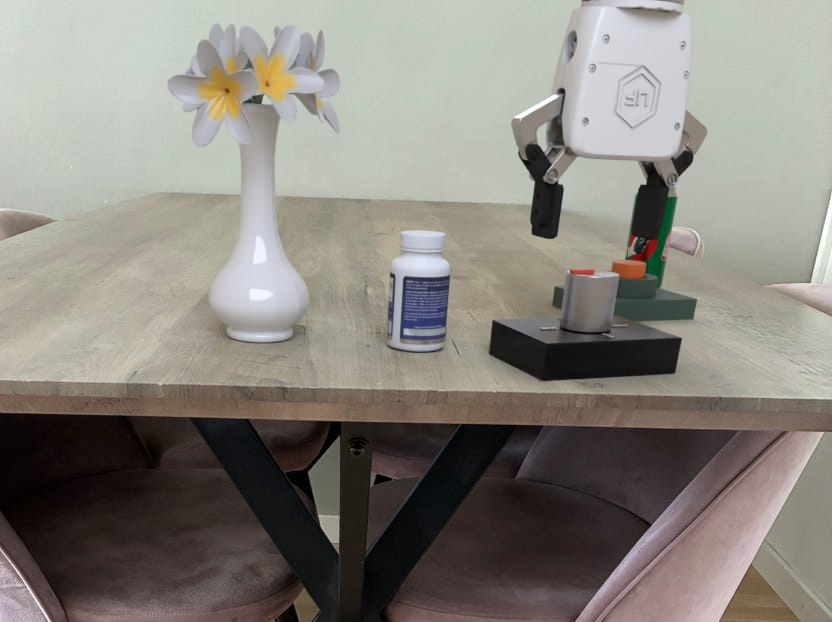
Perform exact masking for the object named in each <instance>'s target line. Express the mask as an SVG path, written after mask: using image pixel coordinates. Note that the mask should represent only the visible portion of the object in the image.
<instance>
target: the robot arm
mask: <svg viewBox="0 0 832 622" xmlns="http://www.w3.org/2000/svg"><path fill="white" fill-rule="evenodd" d="M580 1H581V2H580V7H575V8H574V9H573V10H572V13H571V16H570V17H569V18H570V19H569V22H568V25H567V28H566V31H565V35H564V37H563V41H562V45H561V48H560V52H559V56H558V59H557V64H556V69H555V74H554V79H553V84H552V89H551V93H550V96H549V97H548V98H546V99H544V100H542V101H540V102H539V103H537V104H536V105H534V106H532V107H530V108H528V109H527V110H525V111H522V112H521V113H520V114H518V115H516V116H514V117H513V118H512V119H511V123H510V124H511V125H510V126H511V130H512V133H513V138H514V140H515V144H516V146H517V148H518V152H517V155H518V157H519V160H520V161H521V162H522V164H523V165H524V168H526V170H527V171H528V175H529V179H530V180H531V181H532V182H534V185H533V193H532V201H531V208H530V216H529V222H530V225H531V230H530V231H531V235H532V236H535V237H539V238H542V239H546V240H554V239H556V238H557V237H558V235H559V234H558V233H559V228H560V221H561V213H562V205H563V199H564V191H565V188H564V184H561V183H559V179H560V178H561V177H562V176H563V175H564V173H565V172H566V171H568V169H569V167H570V166H571V165H572V164H573V162H574V161H575V160H576V159H577V158H579V157H580V158H584V159H589V160H604V161H605V160H607V161H629V162H630V161H632V162H637V163H638V166H639V167H640V170H641V172H642V174H643V176H644V179H645V181H646V183H645V184H641V183H640V185H639V187H638V189H637V192H638V194H637V200H636V206H635V211H634V217H633V223H632V229H631V234H632V235H633V236H635V237H639V238H644V239H648V240H657V239H658V238H659V234H660V229H661V226H662V223H663V219H664V214H665V208H666V203H667V198H668V193H669V187H670V188H672V187H676V185H677V184H678V181H679V178H680V177H681V176H682V175H683V173H685V171H687V170H688V168H690V166H691V165H692V164H693V162H694V155H696V154H697V153H698V151H699V150H700V148H701V146H702V144H703V143H704V141H705V139H706V137H707V135H708V128H707V127H706V126H705V125H704V124H703V123H701V122H700V121H699V120H698V119H697V118H696V117H695V116H694V115H693V114H692V113H690V111H688V110H687V105H688V97H689V88H690V79H691V70H692V69H691V68H692V54H693V53H692V52H693V51H692V50H693V24H692V23H693V22H692V20H693V19H692V14H688V13H683V11H684V5H685V1H686V0H580ZM544 124H546V127H545V128H546V129H545V143H546V149H545V150H543V148H542V147H541V146H540V145H539V142H538V136H537V131H538V129H539V128H540V127H542V126H543V125H544Z"/></svg>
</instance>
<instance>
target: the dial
mask: <svg viewBox="0 0 832 622" xmlns="http://www.w3.org/2000/svg"><path fill="white" fill-rule="evenodd" d="M610 271H611V270H601V269H593V268H569V270H567V271H566V274H565V282H564V286H565V288H564V296H563V303H562V309H560V310H561V311H560V317H561V318H560V327H561V328H564V329H566V330H571V331H576V332H585V333H602V332H608V331H610V330H611V326H612V319H613V313H614V307H615V301H616V295H617V288H618V282H619V274H617V273H614V272H610Z"/></svg>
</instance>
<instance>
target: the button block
mask: <svg viewBox="0 0 832 622" xmlns="http://www.w3.org/2000/svg"><path fill="white" fill-rule="evenodd" d="M609 271H610V272H611V270H609ZM657 283H658V277H657V276H655V275H651V274H647V273H645V275H644V278H622V277H619V282H618V288H617V295H616V301H615V307H614V313H613V316H620V317H623V318H626V319H628V320H631V321H634V322H657V321H658V322H659V321H684V320H685V321H689V320H694V317H695V313H696V308H697V303H698V298H695V297H692V296H688V295H684V294H681V293H677V292H674V291H670V290H667V289H663V288H661V287H660V288H657ZM564 288H565V285H555V286H554V289H553V291H554V292H553V297H552V303H551V305H552V307H555V308H557V309H560V310H562V303H563V296H564Z"/></svg>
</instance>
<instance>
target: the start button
mask: <svg viewBox="0 0 832 622" xmlns="http://www.w3.org/2000/svg"><path fill="white" fill-rule="evenodd" d="M645 269H646V263H645V262H641V261H634V260H625V259H615V260H612V264H611V269H610V271H611V272H614V273H617V274H619V277H622V278H644V275H645Z"/></svg>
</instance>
